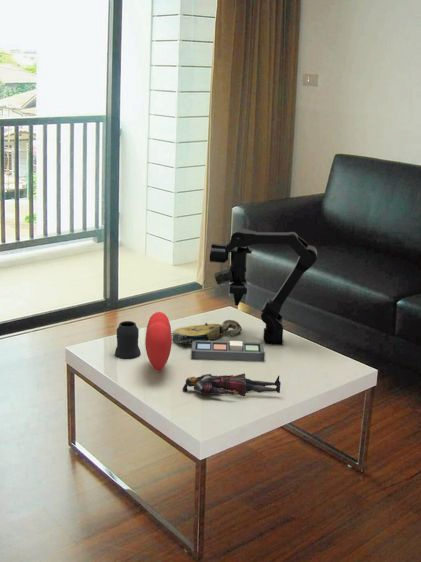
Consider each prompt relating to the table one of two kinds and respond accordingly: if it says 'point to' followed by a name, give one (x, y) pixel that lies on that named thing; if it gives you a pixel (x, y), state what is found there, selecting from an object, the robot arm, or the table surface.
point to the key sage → (251, 348)
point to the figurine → (229, 384)
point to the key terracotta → (219, 347)
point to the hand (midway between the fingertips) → (236, 305)
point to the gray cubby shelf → (227, 352)
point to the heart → (158, 340)
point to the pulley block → (205, 332)
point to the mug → (127, 341)
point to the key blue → (203, 347)
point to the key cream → (236, 346)
